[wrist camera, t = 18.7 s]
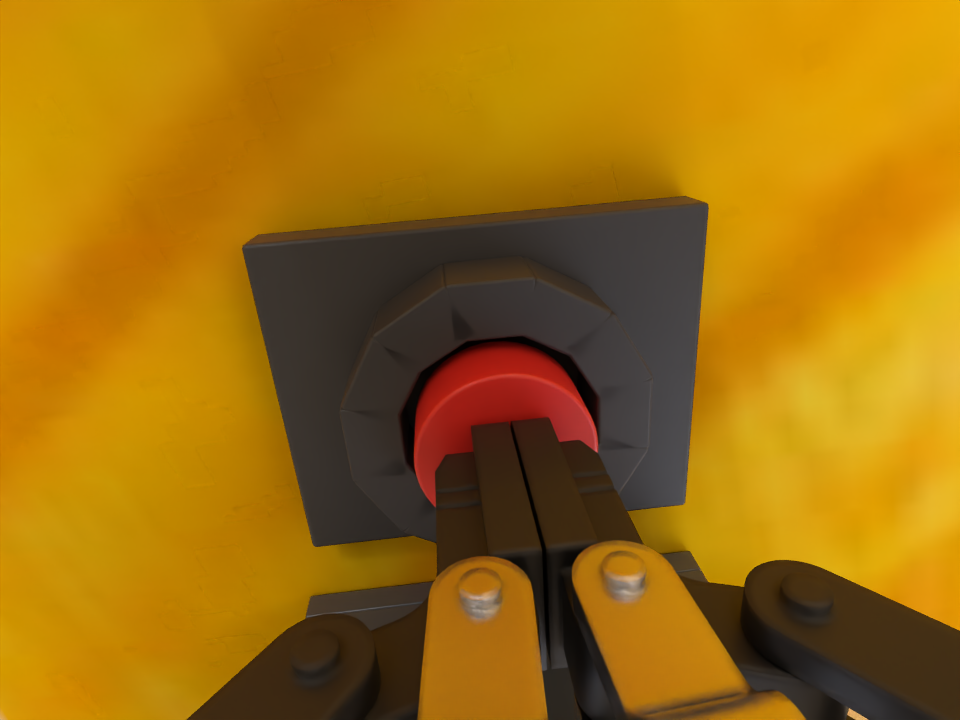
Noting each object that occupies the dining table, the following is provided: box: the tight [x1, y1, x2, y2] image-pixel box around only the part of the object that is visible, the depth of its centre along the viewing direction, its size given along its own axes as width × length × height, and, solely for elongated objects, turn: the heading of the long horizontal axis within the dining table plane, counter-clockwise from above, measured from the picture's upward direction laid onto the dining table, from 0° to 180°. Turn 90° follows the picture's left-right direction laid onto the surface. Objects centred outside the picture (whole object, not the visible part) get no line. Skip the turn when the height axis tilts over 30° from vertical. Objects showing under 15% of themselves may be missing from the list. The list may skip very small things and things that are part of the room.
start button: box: [414, 341, 598, 507], centre depth 12 cm, size 4×4×2 cm
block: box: [242, 196, 708, 547], centre depth 14 cm, size 8×10×3 cm
